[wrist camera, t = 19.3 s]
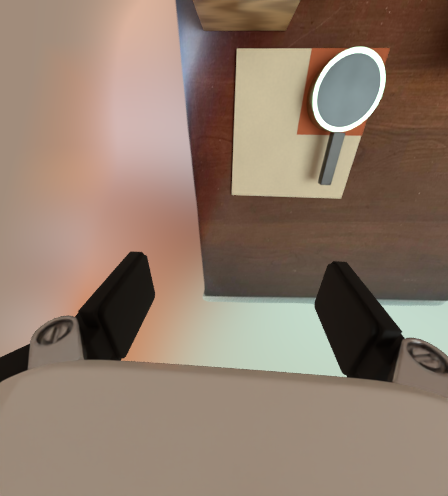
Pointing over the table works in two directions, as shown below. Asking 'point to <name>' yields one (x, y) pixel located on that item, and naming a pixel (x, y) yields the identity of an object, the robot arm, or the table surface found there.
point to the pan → (344, 98)
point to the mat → (284, 125)
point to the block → (245, 14)
